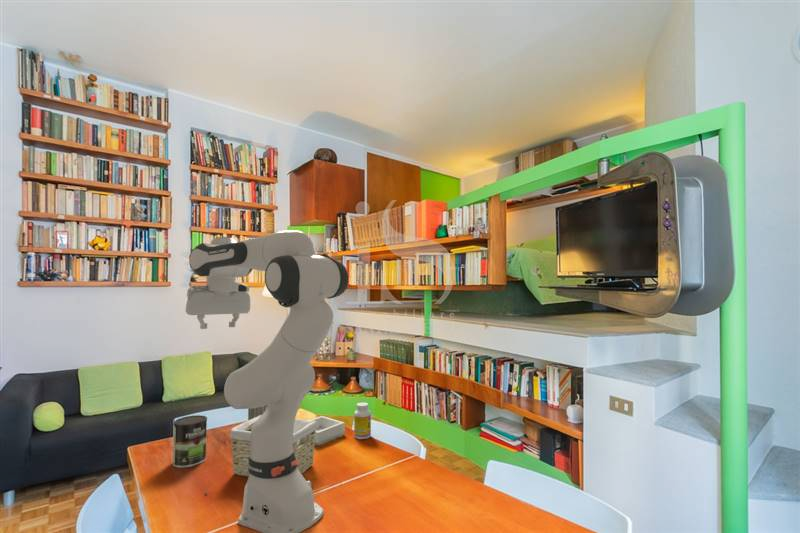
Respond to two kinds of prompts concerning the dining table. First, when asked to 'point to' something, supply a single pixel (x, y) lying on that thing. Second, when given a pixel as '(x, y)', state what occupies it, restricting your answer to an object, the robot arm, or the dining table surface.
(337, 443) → the dining table surface
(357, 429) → the supplement bottle
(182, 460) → the coffee can
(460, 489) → the dining table surface
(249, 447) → the storage basket
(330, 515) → the dining table surface
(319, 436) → the box
